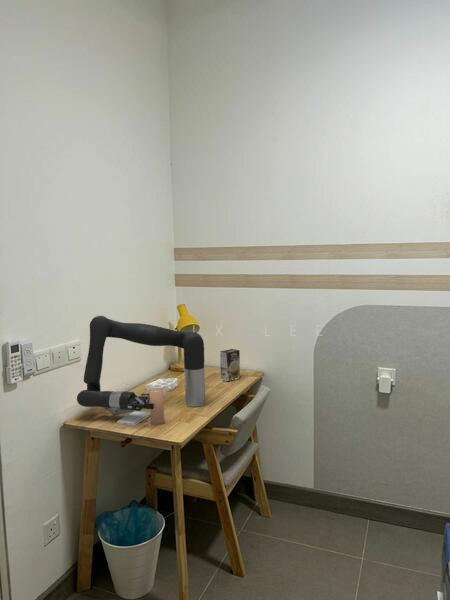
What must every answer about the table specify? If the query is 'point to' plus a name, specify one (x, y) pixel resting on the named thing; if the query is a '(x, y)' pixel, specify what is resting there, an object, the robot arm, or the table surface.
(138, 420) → the hard drive
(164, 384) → the white brass knuckles
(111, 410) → the slate dish
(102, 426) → the table surface
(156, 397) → the pink rounded cylinder
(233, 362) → the coffee box
